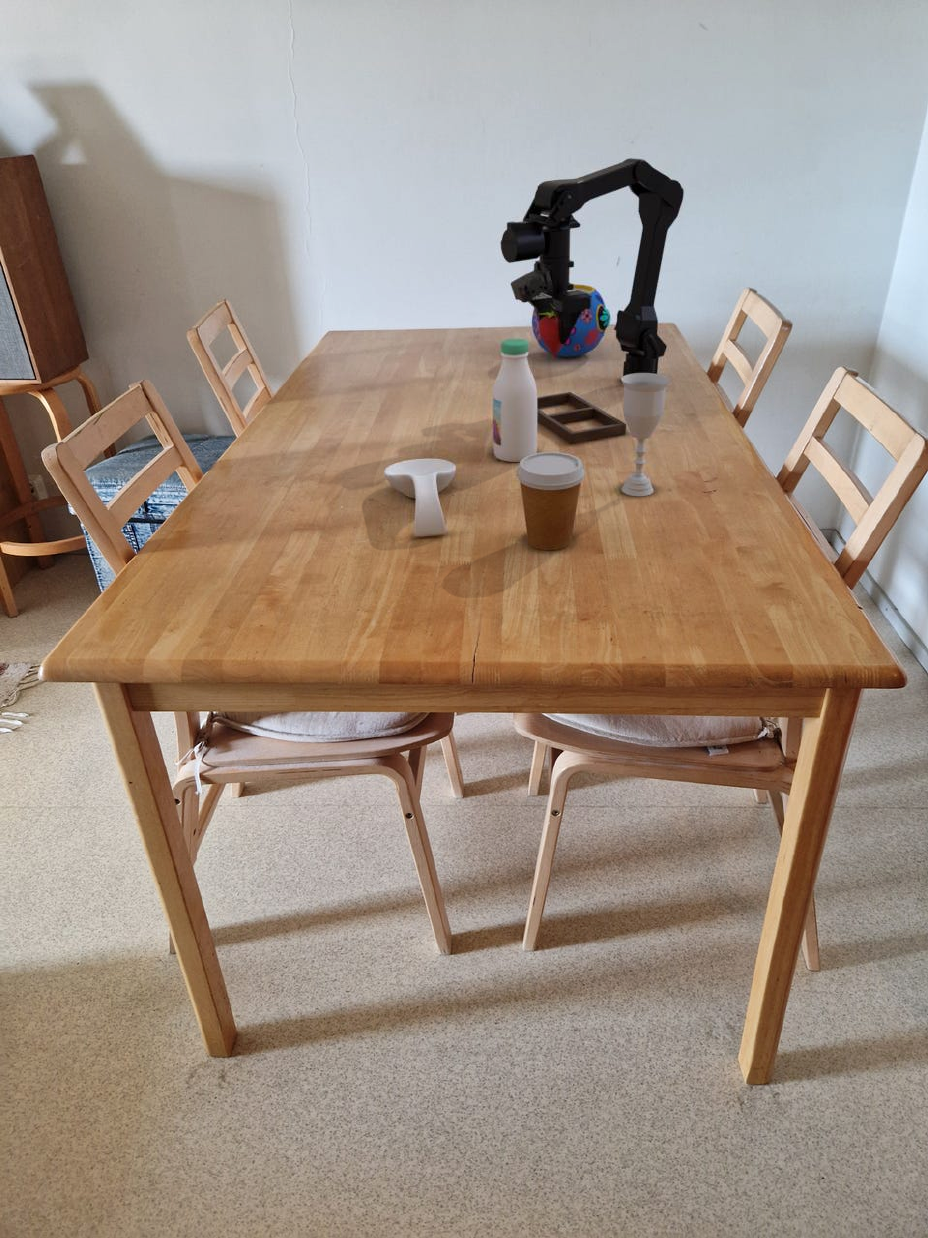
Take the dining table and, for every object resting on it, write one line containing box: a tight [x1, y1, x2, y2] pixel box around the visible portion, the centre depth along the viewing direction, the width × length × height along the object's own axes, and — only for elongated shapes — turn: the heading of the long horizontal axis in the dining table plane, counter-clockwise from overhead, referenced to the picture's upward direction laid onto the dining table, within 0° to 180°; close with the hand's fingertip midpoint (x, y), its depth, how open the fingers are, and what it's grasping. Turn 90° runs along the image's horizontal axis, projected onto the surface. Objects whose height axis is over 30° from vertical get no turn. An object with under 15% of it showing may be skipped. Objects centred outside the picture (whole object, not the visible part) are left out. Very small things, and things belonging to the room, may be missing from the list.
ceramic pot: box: [531, 283, 611, 358], centre depth 210 cm, size 18×18×15 cm
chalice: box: [620, 373, 671, 497], centre depth 140 cm, size 7×7×18 cm
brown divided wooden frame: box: [537, 391, 627, 445], centre depth 173 cm, size 11×22×2 cm, turn 22°
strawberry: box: [539, 305, 563, 356], centre depth 176 cm, size 6×8×10 cm
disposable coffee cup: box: [516, 451, 586, 551], centre depth 127 cm, size 10×10×12 cm
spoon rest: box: [383, 458, 457, 537], centre depth 140 cm, size 24×12×7 cm, turn 8°
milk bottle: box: [492, 338, 538, 463], centre depth 154 cm, size 8×8×20 cm
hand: (553, 339), depth 177 cm, fingers closed on strawberry, 7 cm apart
